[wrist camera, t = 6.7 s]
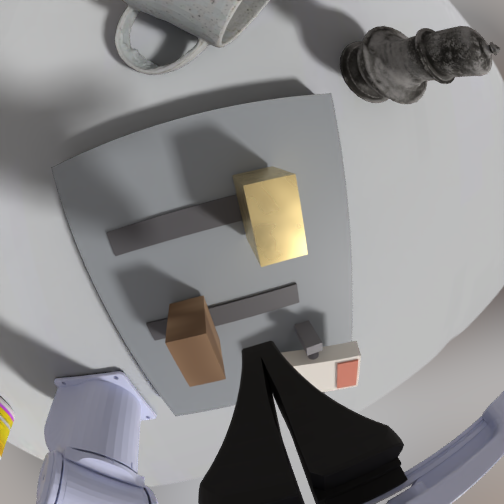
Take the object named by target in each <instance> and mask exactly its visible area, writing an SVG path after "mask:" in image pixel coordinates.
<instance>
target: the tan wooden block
mask: <svg viewBox="0 0 504 504" xmlns="http://www.w3.org/2000/svg"><path fill="white" fill-rule="evenodd" d="M232 177H233V181H234V186H235V190H236V194H237V199H238V203H239V207H240V212H241V216H242V220H243V225H244V229H245V233H246V238H247V240H248V242H249V244H250V246H251V248H252V250H253V252H254V254H255V256H256V258H257V260H258V262H259V264H260V266H261V267H264V266H267V265H271V264H274V263H278V262H282V261H285V260H289V259H292V258H296V257H299V256H303V255H306V254H308V253H307V245H306V238H305V231H304V224H303V217H302V210H301V204H300V198H299V191H298V185H297V179H296V174H294V173H291V172H288V171H285V170H282V169H279V168H276V167H273V166H272V167H267V168H262V169H258V170H253V171H249V172H245V173H240V174H236V175H232Z"/></svg>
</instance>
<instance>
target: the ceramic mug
mask: <svg viewBox="0 0 504 504" xmlns="http://www.w3.org/2000/svg"><path fill="white" fill-rule="evenodd" d="M123 1H124V2H125V3H127V5H128V7H127V9H126V10H125V11H124V12H123V14H122V16H121V18H120V20H119V23H118V25H117V28H116V34H115V44H116V49H117V51H118V54H119V56H120V57H121V59H122V60H123V61H124V62H125V63H126V64H127V65H128V66H130V67H131V68H133V69H135V70H136V71H138V72H141V73H144V74H148V75H157V74H163V73H168V72H171V71H174V70H177V69H179V68H182V67H183V66H185V65H187V64H189V63H190V62H191V61H192V60H194V59H195V58H196V57H197V56H198V55H200V54H201V53H202V52H203V51H204V50H205V49H206V48H207V46H208V45H210V44H211V45H213V46H215V47H219V48H221V47H224V46H226V45H228V44H229V43H230V42H232V41H233V40H234V39H236V38H237V37H238V36H239V34H240V33H241V32H242V31H243V30H244V29H246V28H247V27H248V25H249V24H250V23H251V22H252V21H253V20H254V19H255V17H257V16H258V14H259V13H260V12H261V11H262V9H263V8H264V7H265V6H266V4H267V3H268V2H269V1H270V0H123ZM140 11H142V12H145V13H147V14H149V15H152V16H154V17H156V18H158V19H163V20H165V21H167V22H169V23H171V24H173V25H175V26H177V27H179V28H181V29H182V30H185V31H187V32H188V33H190V34H192V35H194V36H196V37H198V42H197V44H196V45H195V46H194V47H193V49H191V50H190V51H188V52H187V53H186V54H185V55H184V56H182V57H181V58H180V59H178V60H177V61H175V62H173V63H171V64H167V65H165V66H157V65H156V64H154V63H153V62H151V61H149V60H147V59H146V58H144V57H143V56H142V55H140V54H139V52H138V50H136V49H132V48H131V46H130V32H131V27H132V25H133V23H134V20H135V18H136V16H137V15H138V13H139V12H140Z"/></svg>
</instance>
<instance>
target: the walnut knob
mask: <svg viewBox="0 0 504 504" xmlns="http://www.w3.org/2000/svg"><path fill="white" fill-rule="evenodd" d="M165 344H166V346H167V348H168V349H169V351H170V353H171V355H172V357H173V359H174V360H175V362H176V364H177V366H178V368H179V369H180V371H181V373H182V375H183V376H184V378H185V380H186V381H187V383H188V385H189V386H190V387H192V386H197V385H202V384H207V383H211V382H216V381H220V380H224V379H226V376H225V370H224V364H223V358H222V351H221V345H220V339H219V336H218V334H217V331H216V328H215V326H214V323H213V320H212V318H211V315H210V312H209V309H208V307H207V304H206V301H205V298H204V295H203V296H199V297H195V298H191V299H187V300H183V301H180V302H176V303H172V304H169V312H168V320H167V329H166V339H165Z"/></svg>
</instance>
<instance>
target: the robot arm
mask: <svg viewBox="0 0 504 504" xmlns="http://www.w3.org/2000/svg"><path fill="white" fill-rule="evenodd" d="M116 376H117V377H116ZM54 383H55V384H56V386H57V387H58V389H57V391H56V394H55V397H54V400H53V403H52V405H51V408H50V411H49V414H48V417H47V421H46V424H45V429H44V435H45V441H46V445H47V447H48V449H49V451H50V452H49V453H47V454H46V456H45V459H44V461H43V464H42V468H41V471H40V475H39V480H38V486H37V501H36V504H158V501H157V499H156V497H155V495H154V493H153V491H152V490H151V489H150V488H149V487H147V486H145V485H144V477H143V476H140V475H138V451H139V435H140V423H141V420H150V419H155V418H156V413H155V412H154V411H153V410H152V409H151V407H150V406H149V405H148V404H147V402H146V401H145V400H144V399H143V397H142V396H141V395H140V394H139V392H138V391H137V390H136V388H135V387H134V386H133V384H132V383H131V382H130V380H129V379H128V377H127V376H126V375H125V373H123V372H121V371H116V372H109V373H102V374H94V375H86V376H76V377H66V378H56V379H55V380H54ZM272 394H273V395H272ZM273 396H274V398H275V400H276V403H277V405H278V407H279V409H280V411H281V414H282V416H283V418H284V420H285V422H286V424H287V427H288V429H289V431H290V433H291V436H292V438H293V441H294V444H295V447H296V450H297V452H298V455H299V458H300V461H301V463H302V467H303V469H304V472H305V475H306V478H307V480H308V483H309V486H310V489H311V492H312V494H313V497H314V500H315V503H316V504H376V503H378V502H380V501H382V500H384V499H385V498H388V497H390V496H392V495H393V494H395V493H397V492H399V491H401V490H402V489H404V488H406V487H408V486H410V485H411V484H412V486H411V487H410V488H409V489H407V490H406V491H404V492H402V493H401V494H399V495H397V496H396V497H394V498H392V499H390V500H389V501H388V502H387V503H386V504H452V503H453V502H454V501H455V500H457V499H458V498H459V497H460V496H462V495H463V494H464V493H465V492H466V491H467V490H469V489H470V488H471V487H472V486H473V485H474V484H475V483H476V482H477V481H479V479H480V478H482V477H483V476H484V475H485V474H486V473H487V472H488V471H489V470H490V469H491V468H492V467H493V466H494V465H495V464H496V463H497V462H498V460H499V459H500V458H501V457H502V456H503V455H504V391H503V392H502V393H501V394H500V395H499V396H498V397H497V398H496V400H494V401H493V402H492V403H491V404H490V405H489V406H488V408H487V409H486V410H485V411H484V413H483V414H482V416H481V417H480V418H479V419H478V420H477V421H475V422H474V423H473V424H472V425H471V426H470V427H469V428H467V429H466V430H465V431H464V432H462V433H461V434H460V435H459V436H457V437H456V438H455V439H454V440H452V441H451V442H450V443H448V444H447V445H446V446H444V447H443V448H441V449H440V450H439V451H437V452H436V453H434V454H433V455H432V456H430V457H428V458H427V459H425V460H424V461H422V462H421V463H419V464H417V465H416V466H414V467H413V468H411V469H410V470H408V471H406V472H403V470H402V468H401V467H400V465H401V462H400V460H399V458H398V456H399V454H400V452H401V451H402V449H403V446H404V444H403V442H402V440H401V439H400V438H399V436H398V435H397V434H396V433H395V432H394V431H393V430H392V429H391V428H390V427H389V426H387V425H384V424H382V423H379V422H376V421H374V420H371V419H369V418H366V417H364V416H362V415H360V414H358V413H356V412H354V411H352V410H350V409H348V408H346V407H345V406H343V405H341V404H339V403H337V402H336V401H334V400H333V399H331V398H330V397H328V396H327V395H325V394H324V393H323V392H321V391H320V390H318V389H317V388H316V387H315V386H313V385H312V384H311V383H310V382H309V381H308V380H306V379H305V378H304V377H303V376H302V375H301V374H300V373H299V372H298V371H297V370H296V369H295V368H294V367H293V366H292V365H291V364H290V363H289V362H288V361H287V360H286V358H285V357H284V356H283V355H282V354H281V352H280V351H279V350H278V348H277V347H276V345H275V343H274V342H273V341H267V342H264V343H261V344H257V345H254V346H250V347H247V348H243V350H242V371H241V379H240V387H239V392H238V397H237V402H236V406H235V410H234V413H233V417H232V420H231V423H230V426H229V429H228V431H227V434H226V437H225V439H224V441H223V444H222V446H221V448H220V450H219V452H218V454H217V456H216V458H215V460H214V462H213V464H212V465H211V467H210V469H209V470H208V472H207V473H206V475H205V477H204V478H203V480H202V482H201V483H200V488H199V501H198V503H199V504H305V503H304V501H303V498H302V495H301V492H300V490H299V487H298V484H297V481H296V478H295V475H294V472H293V470H292V467H291V464H290V461H289V458H288V455H287V452H286V449H285V446H284V443H283V440H282V436H281V432H280V427H279V423H278V418H277V413H276V409H275V404H274V399H273Z"/></svg>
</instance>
